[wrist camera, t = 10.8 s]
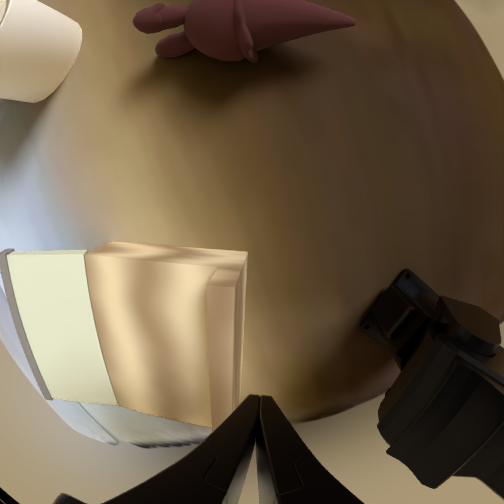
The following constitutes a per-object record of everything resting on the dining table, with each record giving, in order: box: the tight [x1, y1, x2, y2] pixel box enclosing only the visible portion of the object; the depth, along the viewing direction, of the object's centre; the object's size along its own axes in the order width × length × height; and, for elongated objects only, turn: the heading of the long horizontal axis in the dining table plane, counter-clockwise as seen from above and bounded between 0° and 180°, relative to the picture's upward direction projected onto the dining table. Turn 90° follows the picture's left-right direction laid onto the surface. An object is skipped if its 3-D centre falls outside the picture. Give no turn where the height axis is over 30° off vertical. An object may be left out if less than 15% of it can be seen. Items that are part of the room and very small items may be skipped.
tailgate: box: [0, 249, 118, 405], centre depth 20 cm, size 2×16×9 cm
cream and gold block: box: [84, 242, 248, 432], centre depth 21 cm, size 12×16×7 cm
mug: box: [0, 0, 82, 103], centre depth 13 cm, size 14×10×11 cm
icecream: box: [133, 0, 355, 64], centre depth 14 cm, size 7×7×15 cm
